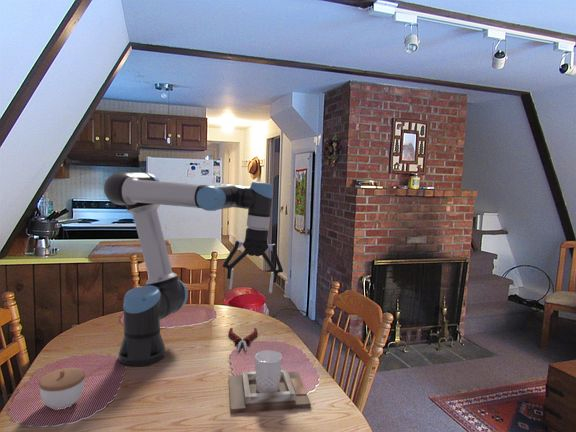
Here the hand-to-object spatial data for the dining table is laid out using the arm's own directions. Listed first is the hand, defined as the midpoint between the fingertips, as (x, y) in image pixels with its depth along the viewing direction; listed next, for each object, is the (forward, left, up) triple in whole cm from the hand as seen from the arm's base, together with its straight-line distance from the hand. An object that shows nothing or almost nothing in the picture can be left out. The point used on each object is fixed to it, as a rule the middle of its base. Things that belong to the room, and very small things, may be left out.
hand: (250, 290), depth 136 cm
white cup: (+4, -22, -24) cm, 32 cm away
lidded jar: (-52, -21, -25) cm, 62 cm away
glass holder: (+4, -22, -25) cm, 33 cm away
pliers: (-3, +16, -25) cm, 30 cm away
